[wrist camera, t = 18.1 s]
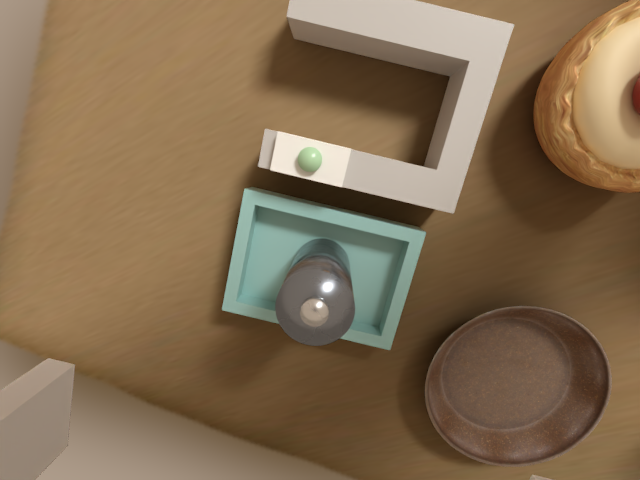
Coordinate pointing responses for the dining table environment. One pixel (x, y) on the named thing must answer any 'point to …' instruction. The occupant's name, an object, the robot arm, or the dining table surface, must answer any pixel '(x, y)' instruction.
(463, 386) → the saucer
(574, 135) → the pastry
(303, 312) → the cell
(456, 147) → the white hook bar
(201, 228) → the dining table surface
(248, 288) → the trough
